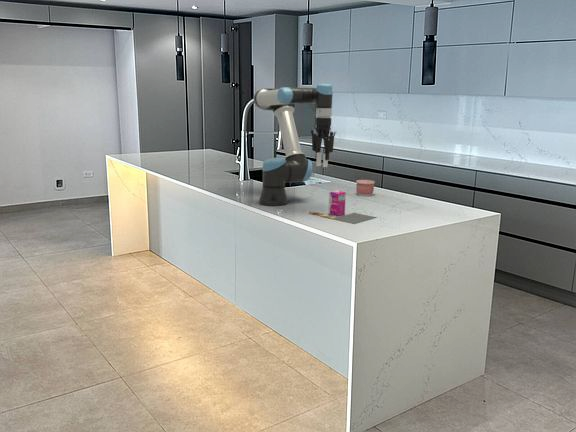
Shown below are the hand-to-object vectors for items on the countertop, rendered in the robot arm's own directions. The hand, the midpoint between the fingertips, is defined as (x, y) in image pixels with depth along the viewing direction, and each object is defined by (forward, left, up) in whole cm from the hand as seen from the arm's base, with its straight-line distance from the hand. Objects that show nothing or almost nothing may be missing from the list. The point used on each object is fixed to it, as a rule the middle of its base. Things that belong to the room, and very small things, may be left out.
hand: (321, 166), depth 269 cm
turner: (+8, -8, -22) cm, 25 cm away
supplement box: (+10, 0, -23) cm, 25 cm away
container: (-10, +53, -23) cm, 59 cm away
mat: (+21, 0, -23) cm, 30 cm away
